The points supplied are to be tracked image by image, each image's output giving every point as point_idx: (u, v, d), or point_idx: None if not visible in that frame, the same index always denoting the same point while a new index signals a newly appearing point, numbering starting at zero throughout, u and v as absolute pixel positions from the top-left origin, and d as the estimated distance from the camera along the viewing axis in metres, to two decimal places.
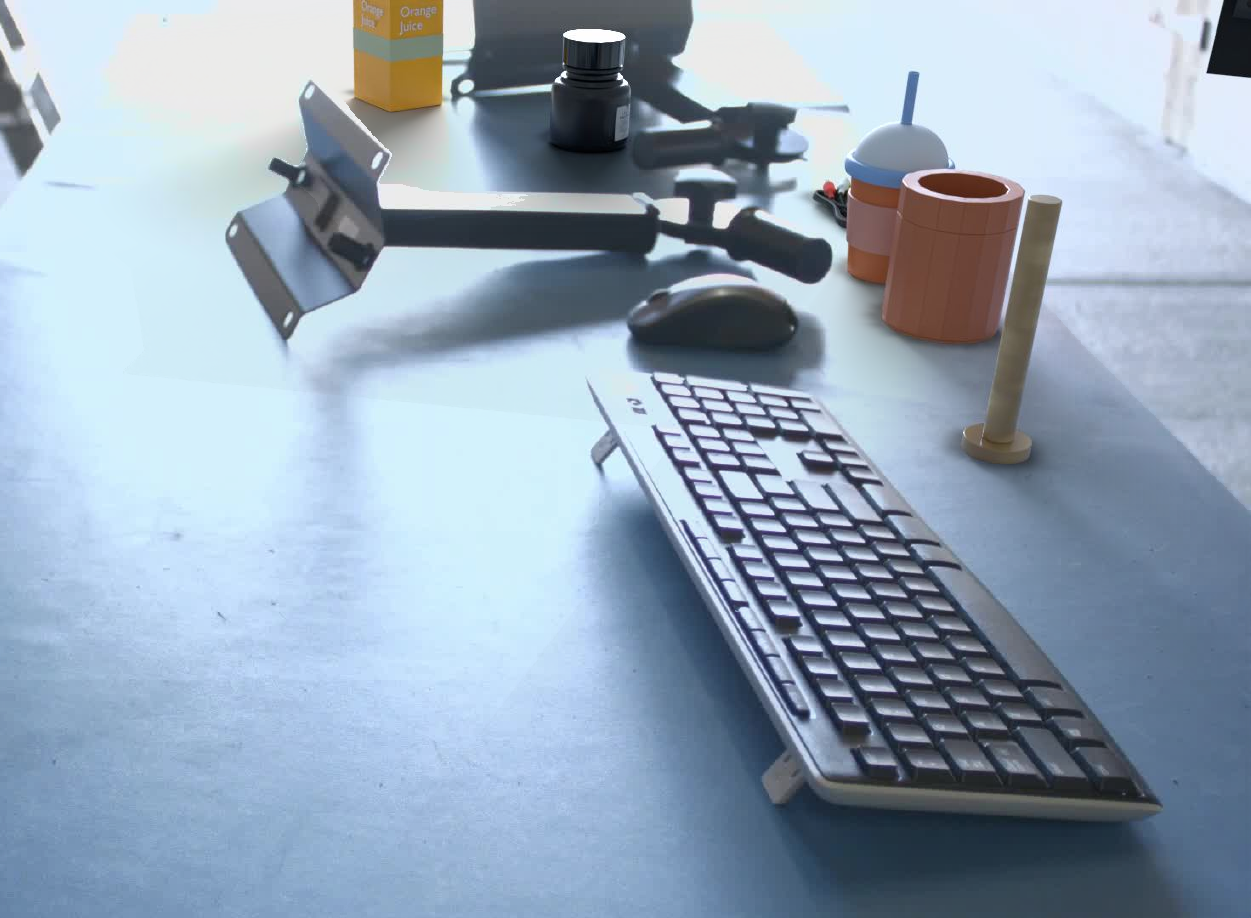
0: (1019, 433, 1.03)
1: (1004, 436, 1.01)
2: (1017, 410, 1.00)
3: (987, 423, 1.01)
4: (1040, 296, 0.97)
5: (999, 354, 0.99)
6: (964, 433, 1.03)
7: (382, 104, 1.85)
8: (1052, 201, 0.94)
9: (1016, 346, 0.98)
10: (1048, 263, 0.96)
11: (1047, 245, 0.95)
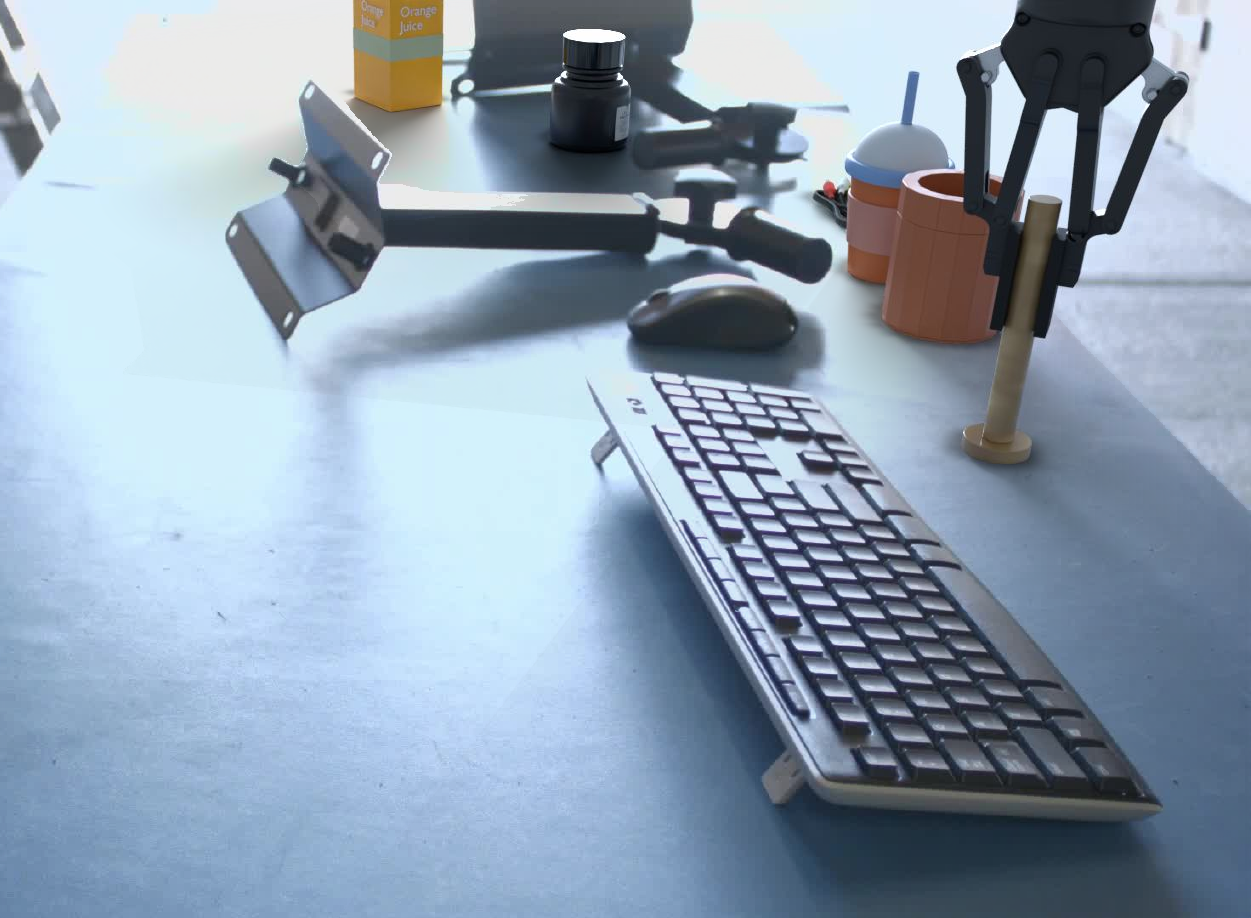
0: (1020, 433, 1.03)
1: (1004, 436, 1.01)
2: (1017, 410, 1.00)
3: (987, 423, 1.01)
4: (1040, 296, 0.97)
5: (999, 354, 0.99)
6: (964, 433, 1.03)
7: (382, 104, 1.85)
8: (1052, 201, 0.94)
9: (1016, 346, 0.98)
10: None
11: (1047, 245, 0.95)
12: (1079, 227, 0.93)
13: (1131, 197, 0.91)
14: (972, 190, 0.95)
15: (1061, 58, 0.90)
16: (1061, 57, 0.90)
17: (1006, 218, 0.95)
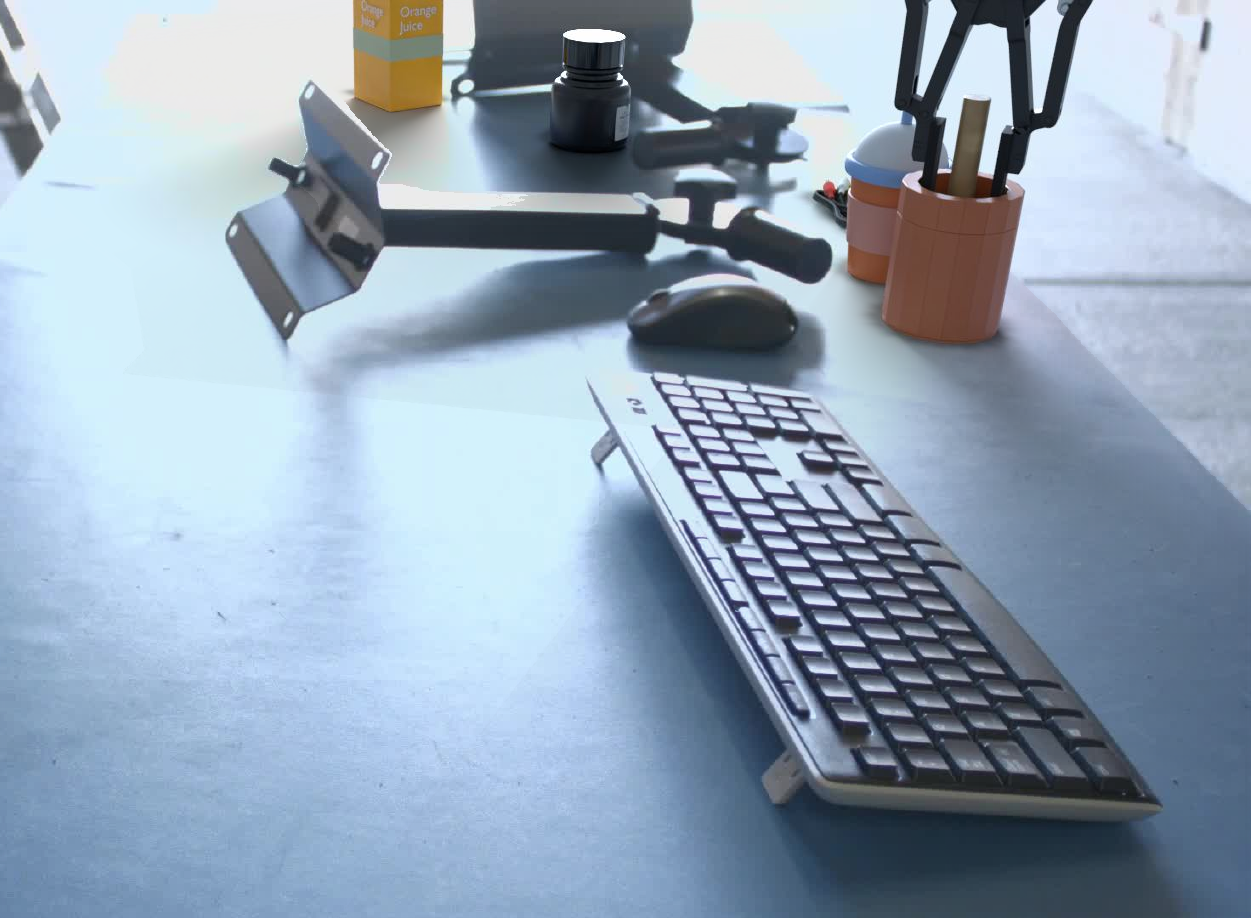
0: None
1: None
2: None
3: None
4: (974, 179, 1.17)
5: None
6: None
7: (382, 104, 1.85)
8: (983, 98, 1.14)
9: None
10: (980, 151, 1.16)
11: (979, 135, 1.15)
12: (1022, 122, 1.13)
13: (1061, 94, 1.11)
14: (903, 89, 1.16)
15: None
16: None
17: (928, 113, 1.16)
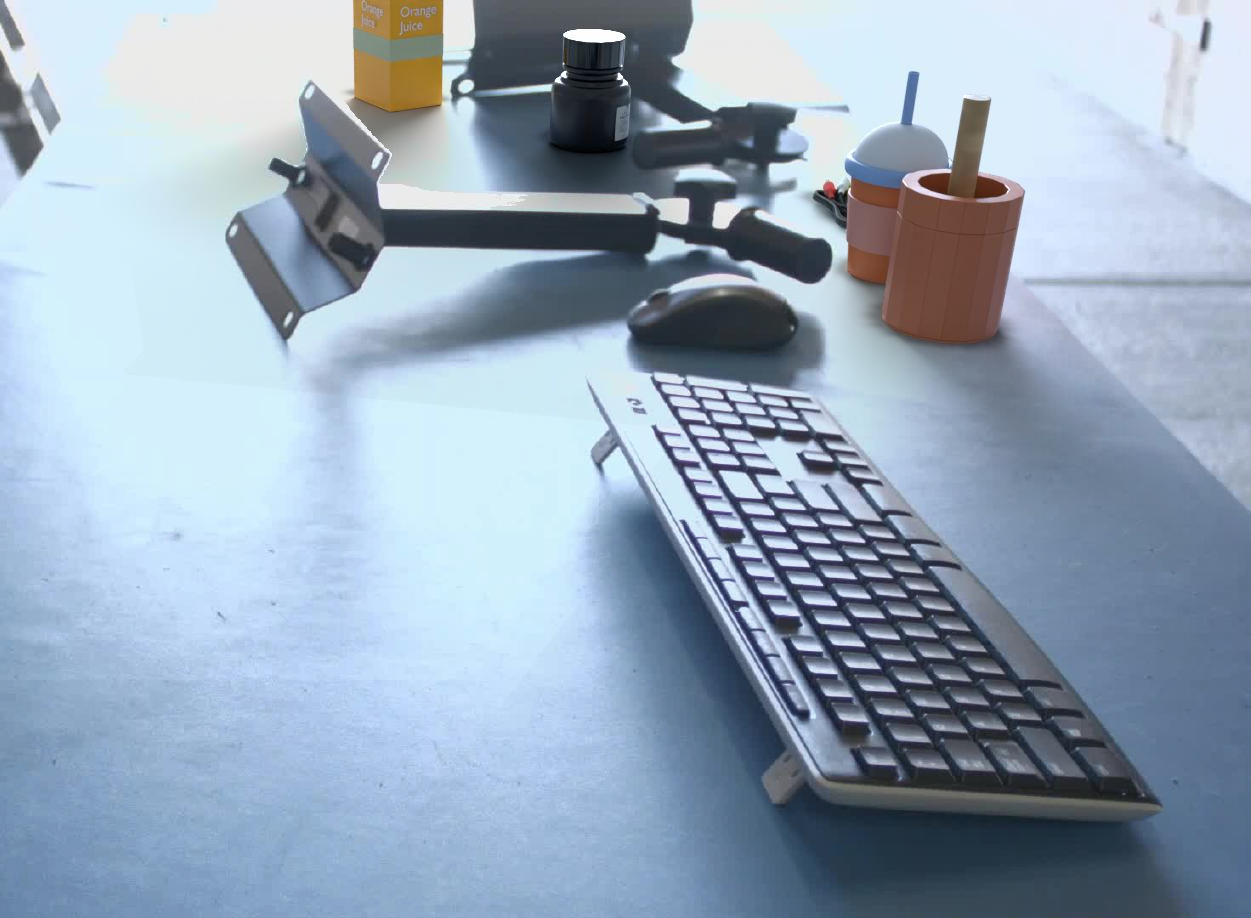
0: None
1: None
2: None
3: None
4: (974, 179, 1.17)
5: None
6: None
7: (382, 104, 1.85)
8: (983, 98, 1.14)
9: None
10: (980, 151, 1.16)
11: (979, 135, 1.15)
12: None
13: None
14: None
15: None
16: None
17: None
